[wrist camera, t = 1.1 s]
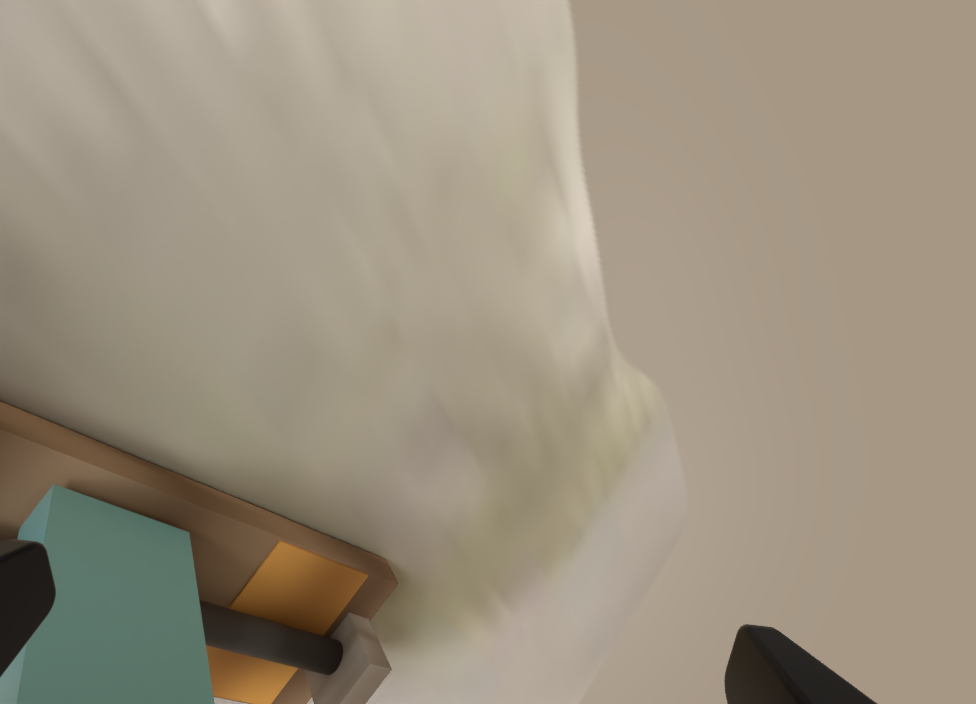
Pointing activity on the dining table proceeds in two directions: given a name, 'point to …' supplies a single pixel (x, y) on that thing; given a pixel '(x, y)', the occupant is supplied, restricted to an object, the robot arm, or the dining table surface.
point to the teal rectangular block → (112, 611)
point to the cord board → (226, 568)
